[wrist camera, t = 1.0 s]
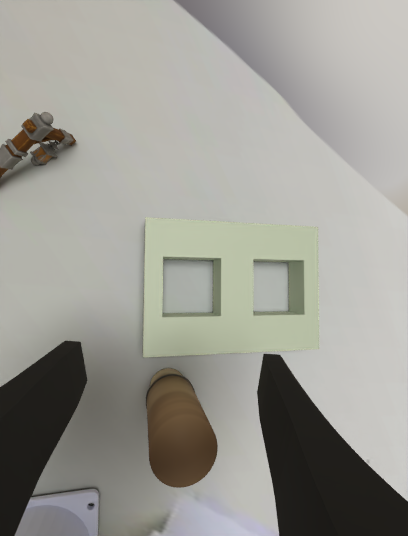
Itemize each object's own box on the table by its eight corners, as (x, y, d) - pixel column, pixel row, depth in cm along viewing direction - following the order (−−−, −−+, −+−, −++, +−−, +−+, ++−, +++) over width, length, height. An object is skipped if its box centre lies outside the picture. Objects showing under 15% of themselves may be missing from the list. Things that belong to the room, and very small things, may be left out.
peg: (189, 406, 23) (218, 483, 14) (144, 410, 22) (147, 493, 14) (189, 362, 23) (218, 412, 15) (145, 365, 23) (148, 418, 14)
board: (302, 342, 26) (319, 349, 23) (142, 349, 23) (143, 357, 20) (301, 232, 26) (317, 226, 24) (145, 224, 23) (145, 217, 21)
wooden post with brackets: (89, 141, 22) (50, 123, 17) (18, 202, 23) (-34, 200, 19) (75, 120, 21) (32, 97, 17) (4, 184, 23) (-52, 177, 19)
